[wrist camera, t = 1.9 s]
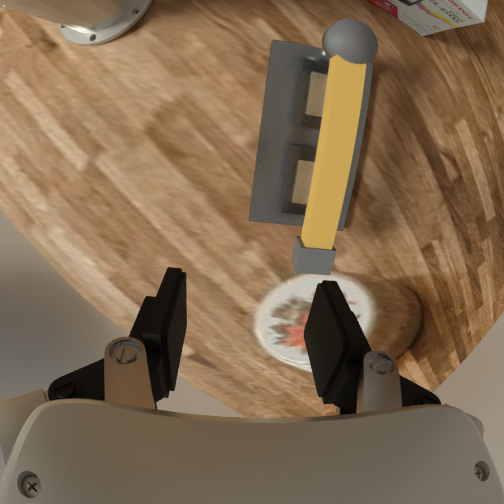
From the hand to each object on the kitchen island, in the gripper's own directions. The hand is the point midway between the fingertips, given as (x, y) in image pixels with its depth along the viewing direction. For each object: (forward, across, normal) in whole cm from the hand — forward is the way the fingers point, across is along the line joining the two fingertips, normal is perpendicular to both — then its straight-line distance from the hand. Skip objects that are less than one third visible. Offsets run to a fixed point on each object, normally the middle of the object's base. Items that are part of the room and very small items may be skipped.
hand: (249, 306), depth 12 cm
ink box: (+22, -16, -26) cm, 37 cm away
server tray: (+21, -6, -6) cm, 23 cm away
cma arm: (+14, -7, -6) cm, 17 cm away
